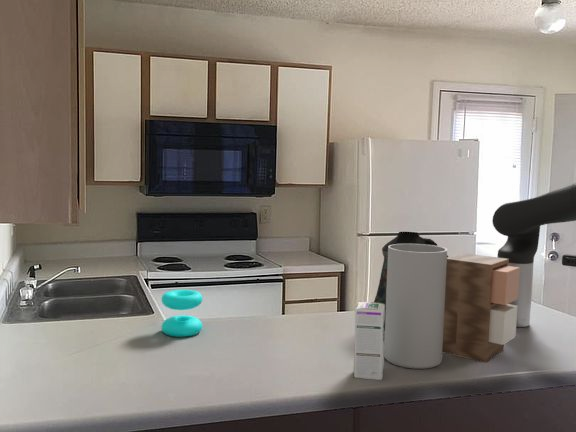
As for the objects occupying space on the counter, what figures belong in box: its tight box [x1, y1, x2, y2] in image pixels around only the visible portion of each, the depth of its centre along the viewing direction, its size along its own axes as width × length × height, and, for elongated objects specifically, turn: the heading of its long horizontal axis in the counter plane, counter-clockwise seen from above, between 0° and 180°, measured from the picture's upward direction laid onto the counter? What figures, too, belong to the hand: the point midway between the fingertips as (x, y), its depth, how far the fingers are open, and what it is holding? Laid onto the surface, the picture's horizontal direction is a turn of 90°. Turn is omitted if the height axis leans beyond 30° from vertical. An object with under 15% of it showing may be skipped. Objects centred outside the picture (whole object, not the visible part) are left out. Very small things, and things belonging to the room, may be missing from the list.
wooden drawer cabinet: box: [442, 252, 509, 363], centre depth 134 cm, size 11×11×22 cm
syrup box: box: [353, 301, 385, 381], centre depth 119 cm, size 6×6×14 cm
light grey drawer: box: [489, 304, 517, 345], centre depth 131 cm, size 6×8×7 cm
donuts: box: [161, 289, 203, 338], centre depth 145 cm, size 10×10×10 cm
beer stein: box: [373, 231, 449, 332], centre depth 155 cm, size 16×19×25 cm
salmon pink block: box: [491, 265, 520, 305], centre depth 130 cm, size 6×8×7 cm
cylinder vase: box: [384, 244, 448, 370], centre depth 127 cm, size 12×12×25 cm
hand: (563, 259), depth 121 cm, fingers closed
